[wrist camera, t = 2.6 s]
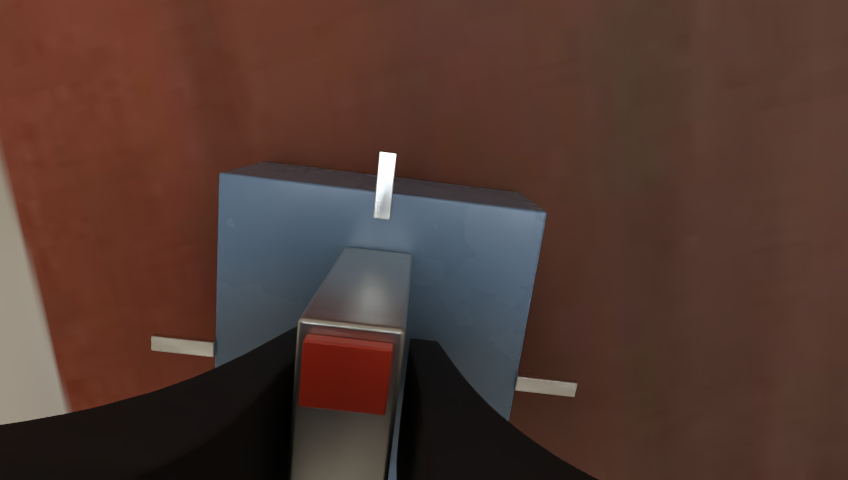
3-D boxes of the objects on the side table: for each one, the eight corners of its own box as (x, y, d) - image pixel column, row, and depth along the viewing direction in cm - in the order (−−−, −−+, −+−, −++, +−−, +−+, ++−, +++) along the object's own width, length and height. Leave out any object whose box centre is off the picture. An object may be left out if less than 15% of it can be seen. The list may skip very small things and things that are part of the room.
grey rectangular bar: (386, 470, 12) (366, 656, 8) (325, 464, 12) (272, 646, 8) (412, 253, 11) (405, 338, 6) (343, 245, 11) (291, 325, 6)
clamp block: (516, 474, 15) (539, 561, 12) (207, 441, 15) (152, 522, 12) (575, 167, 13) (621, 180, 10) (214, 122, 13) (148, 122, 10)
